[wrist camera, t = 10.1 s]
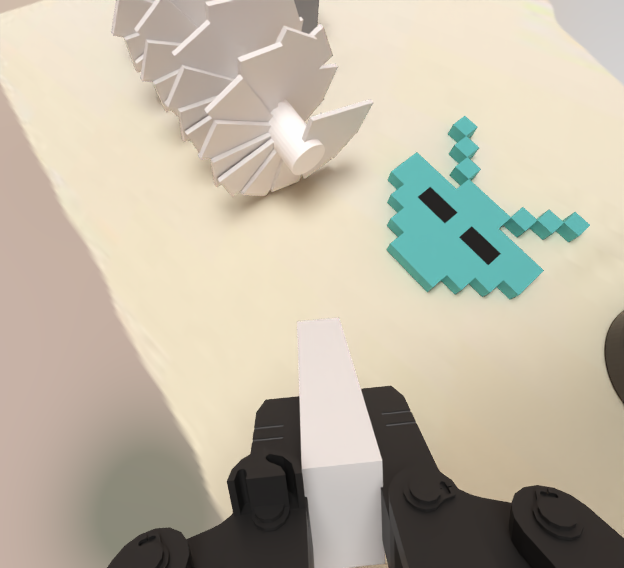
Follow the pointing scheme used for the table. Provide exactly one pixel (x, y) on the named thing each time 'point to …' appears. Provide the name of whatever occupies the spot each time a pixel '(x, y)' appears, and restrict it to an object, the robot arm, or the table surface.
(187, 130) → the spiral staircase
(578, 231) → the alien figure
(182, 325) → the table surface
